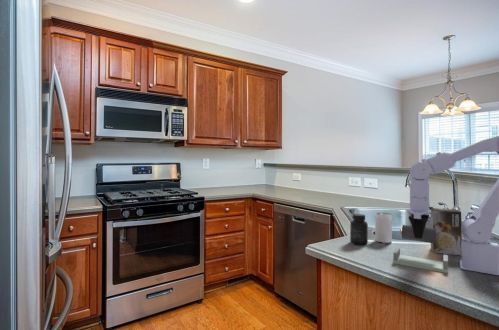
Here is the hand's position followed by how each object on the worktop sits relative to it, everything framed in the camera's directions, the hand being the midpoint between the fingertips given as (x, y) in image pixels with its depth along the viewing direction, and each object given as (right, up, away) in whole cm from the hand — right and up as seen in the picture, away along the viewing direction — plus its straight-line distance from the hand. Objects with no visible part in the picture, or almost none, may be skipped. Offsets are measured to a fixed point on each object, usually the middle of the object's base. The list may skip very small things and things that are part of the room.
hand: (419, 236), depth 100 cm
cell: (0, -2, 0) cm, 2 cm away
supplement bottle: (-13, -8, +21) cm, 26 cm away
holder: (-2, -8, -4) cm, 10 cm away
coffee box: (+16, -9, +9) cm, 20 cm away
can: (-2, -8, +23) cm, 25 cm away
